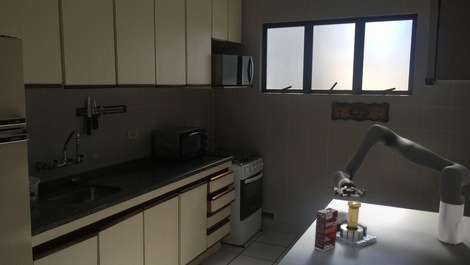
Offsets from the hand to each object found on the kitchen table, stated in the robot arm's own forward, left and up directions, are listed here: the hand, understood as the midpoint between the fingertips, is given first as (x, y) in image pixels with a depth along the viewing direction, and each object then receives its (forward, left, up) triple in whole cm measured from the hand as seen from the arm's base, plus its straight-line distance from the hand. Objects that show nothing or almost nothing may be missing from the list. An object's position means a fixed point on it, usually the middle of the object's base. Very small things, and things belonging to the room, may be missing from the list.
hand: (351, 196), depth 186 cm
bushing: (-8, +9, -14) cm, 18 cm away
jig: (-8, +9, -16) cm, 20 cm away
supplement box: (-8, +26, -16) cm, 32 cm away
